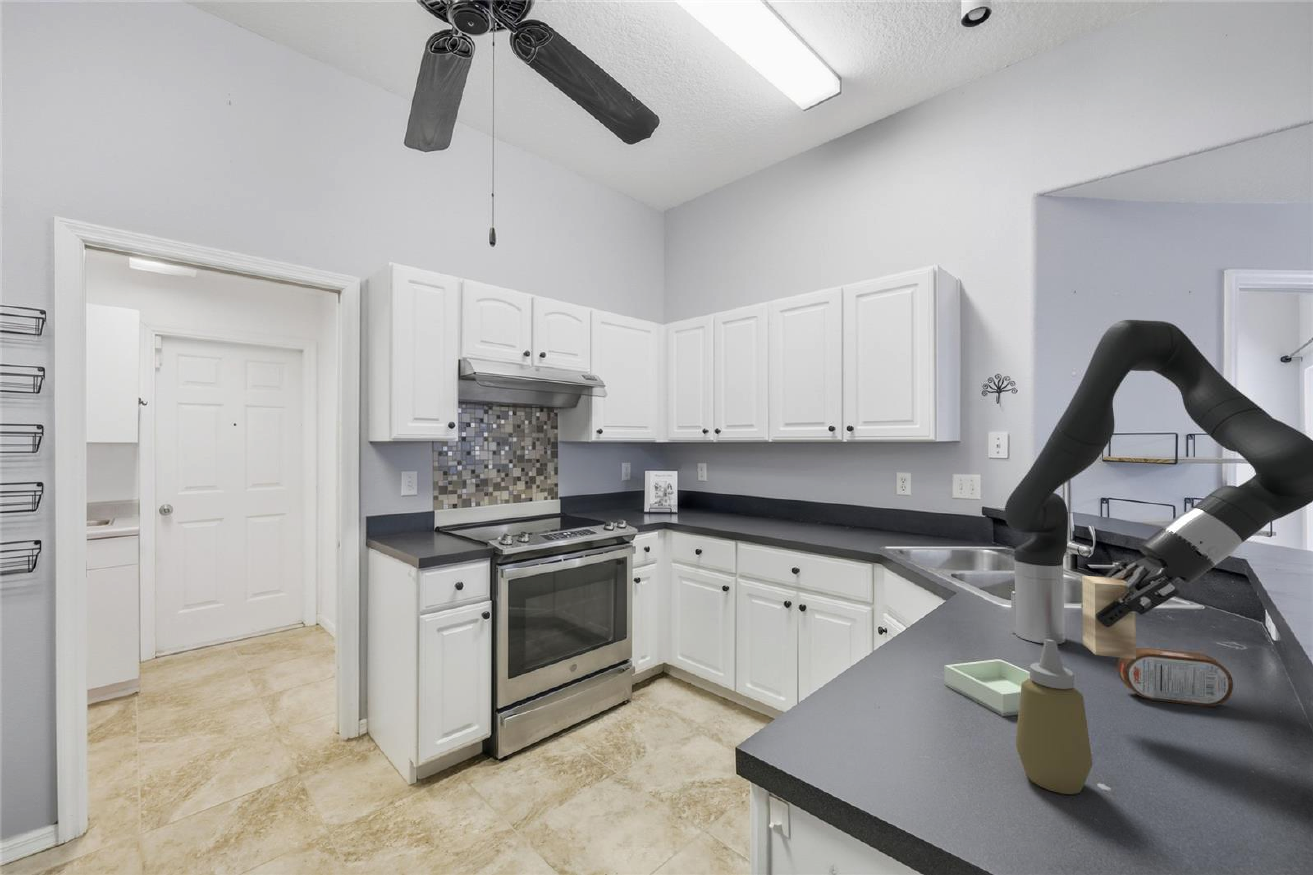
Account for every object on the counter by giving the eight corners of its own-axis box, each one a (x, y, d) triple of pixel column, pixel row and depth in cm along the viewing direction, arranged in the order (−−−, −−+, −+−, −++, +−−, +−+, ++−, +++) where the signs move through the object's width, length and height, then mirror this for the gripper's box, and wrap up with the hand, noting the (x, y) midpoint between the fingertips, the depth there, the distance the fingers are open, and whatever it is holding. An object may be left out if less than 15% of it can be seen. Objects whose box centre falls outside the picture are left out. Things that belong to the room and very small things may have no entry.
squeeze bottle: (1001, 765, 75) (999, 631, 75) (1057, 762, 75) (1054, 629, 76) (1048, 803, 67) (1046, 653, 67) (1110, 800, 67) (1107, 651, 68)
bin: (944, 684, 100) (944, 665, 100) (999, 677, 103) (999, 659, 104) (1003, 716, 88) (1002, 694, 88) (1063, 707, 91) (1063, 686, 92)
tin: (1225, 704, 93) (1224, 653, 93) (1237, 712, 90) (1236, 660, 90) (1116, 691, 98) (1115, 643, 98) (1125, 698, 95) (1124, 649, 95)
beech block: (1095, 654, 85) (1094, 583, 85) (1082, 643, 89) (1082, 575, 90) (1135, 659, 83) (1134, 585, 83) (1120, 647, 88) (1120, 578, 88)
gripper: (1143, 520, 91) (1057, 587, 95) (1193, 534, 77) (1090, 611, 81) (1184, 555, 89) (1095, 621, 93) (1243, 575, 75) (1135, 652, 79)
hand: (1093, 616), depth 87 cm, fingers closed on beech block, 5 cm apart
